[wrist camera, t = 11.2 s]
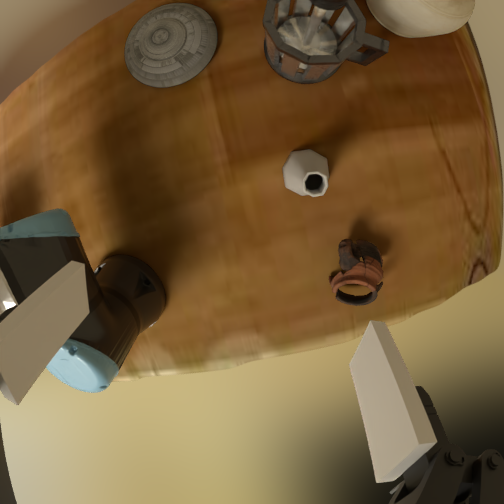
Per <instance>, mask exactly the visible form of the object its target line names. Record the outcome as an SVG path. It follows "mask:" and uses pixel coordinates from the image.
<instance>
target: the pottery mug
mask: <svg viewBox="0 0 504 504" xmlns="http://www.w3.org/2000/svg"><path fill="white" fill-rule="evenodd" d="M338 251H339V256H340V262H339V264H340V266H341V268H342V269H343V270H347V271H346V273H344V274H343V272H342V271H340V272H339V273H338V274H337V275H336V276H335V277H334V278H333V277H332V276H329V283H330V285H331V287H332V288H333V289H332V292H333V293H336V299H337V300H339V301H340V302H342V303H345V304H349V305H356V306H357V305H366V304H369V303H371V302H373V301H374V300H375V299H376V298H377V292H378V291H379V290H380V289H381V287H382V285H383V282H381V283H380V284H379V285H377V284H378V283H379V281H381V279H382V278H383V270H382V264H383V260H382V257H381V255H380V251H379V249H378V248H377V247H376V246H375V245H374V244H372V243H370V242H368V241H363V240H357V245H356V244H354V243H353V242H352V241H351V240H350V239H344V240H342V241H341V242H340V244H339V249H338ZM360 257H362V258H363V261H364V262H362V261H360V259H359V258H360ZM345 284H360V285H364V286H367V287H368V288H369V289H370V290H371V291H372V292H370V293H369V294H367V295H364V296H354V295H350V294H346V293H343V292H342V291H340V290H339V289H338V288H339V287H341V286H343V285H345Z"/></svg>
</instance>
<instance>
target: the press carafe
mask: <svg viewBox="0 0 504 504" xmlns="http://www.w3.org/2000/svg"><path fill="white" fill-rule="evenodd" d="M311 5H312V3H311V2H310V1H309V0H295V3H294V8H293V14H292V15H290V16H288V13H289V7H290V0H268V1H267V5H266V9H265V14H264V18H263V27H264V28H265V35H266V37H265V40H264V51H265V56H266V59H267V61H268V63H269V65H270V66H271V67H272V69H273V70H274V71H275V72H276V73H278V74H279V75H280V76H282V77H283V78H285V79H287V80H289V81H292V82H295V83H301V84H313V83H318V82H321V81H323V80H326V79H327V78H329V77H330V76H331V75H333V74H334V73H335V72H336V71H337V69H338V68H339V66H340V65H341V63H342V62H343V61H345V60H348V61H351V62H355V63H358V64H361V65H364V66H366V65H368V64H370V63H371V62H373V61H375V60H376V59H378V58H379V57H381V56H383V55H384V54H386V53H388V48H389V41H387V40H384V39H382V38H379V37H376V36H373V35H370V34H368V33H365V26H366V19H365V17H364V16H363V14H362V12H361V11H360V9H359V7H358V6H357V4H356V3H355V1H354V0H347V2H346V4H345V6H346V7H345V8H344V10H343V11H342V13H341V14H340V16H339V18H338V19H337V21H336V22H335V24H334V25H333V27H331V26H330V25H329V24H328V22H329V20H330V18H331V16H332V15H333V13H334V11H335V10H326V13H325V15H324V17H323V19H322V22H323V23H325V24H326V25H327V26H328V27H329V28H330V29H331V30H332V32H333V33H334V35H335V38H336V41H337V50H336V53H335V55H307V54H306V53H304V52H302V51H300V50H298V49H296V48H294V47H292V46H290V45H288V44H286V43H284V42H283V40H282V38H281V36H280V35H279V33H278V29H279V28H280V26H281V25H282V24H283V23H284V22H286V21H287V20H289V19H292V18H295V17H311V16H310V15H308V14H309V11H310V8H311ZM355 23H356V24H355ZM354 25H355V28H354V29H353V30H352V31H351V32H350V34H349V35H348V36H347V37H346V38H345V39H344V40H343V42H341V40H342V39H343V38H344V37H345V35H346V34H347V33H348V32H349V31H350V29H351V28H352V27H353V26H354ZM362 46H363V47H366V48H368V49H367V50H366V51H365V52H363V53H361V52H358V51H357V50H358V49H359V48H361V47H362ZM280 52H281V53H283V54H284V55H283V59H282V58H281V56H280ZM300 63H303V64H305V65H306V64H307V65H308V66H307V68H306V70H303V69H299V66H300Z"/></svg>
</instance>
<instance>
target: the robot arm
mask: <svg viewBox="0 0 504 504" xmlns="http://www.w3.org/2000/svg"><path fill="white" fill-rule="evenodd" d="M79 237H80V235H79V233H77V231H76V229H75V227H74V224H73V222H72V220H71V217H70V215H69V214H68V212H67V211H65V210H63V209H53V210H49V211H45V212H42V213H39V214H36V215H32V216H29V217H27V218H24V219H21V220H18V221H16V222H14V223H11V224H9V225H6V226H3V227H1V228H0V390H1V391H2V393H3V395H4V397H5V398H7V399H8V400H10V401H11V402H13V403H15V404H16V405H19V403H20V402H21V401H22V399H23V398H24V396H25V395H26V393H27V392H28V390H29V389H30V388H31V386H32V385H33V384H34V382H35V381H36V380H37V378H38V377H39V375H40V374H41V373H42V372H43V370H44V369H45V368H47V369H48V370H49V371H50V372H51V373H52V374H53V375H54V376H55V377H57V378H58V379H59V380H60V381H62V382H64V383H65V384H67V385H69V386H71V387H73V388H75V389H77V390H80V391H84V392H91V393H95V392H101V391H103V390H105V389H106V388H107V387H108V386H109V385H110V383H111V382H112V380H113V379H114V377H115V376H117V375H118V372H119V370H120V368H121V366H122V364H123V362H124V360H125V358H126V356H127V355H128V353H129V351H130V349H131V347H132V345H133V343H134V342H135V340H136V338H137V336H138V335H139V334H140V333H141V332H143V331H144V330H146V329H147V328H148V327H150V326H152V325H153V324H154V323H155V322H156V321H157V320H158V319H159V317H160V315H161V314H162V312H163V310H164V307H165V301H166V298H165V291H164V288H163V285H162V283H161V281H160V279H159V277H158V276H157V275H156V273H155V272H154V271H153V270H152V269H151V268H150V267H149V266H148V265H147V264H145V263H144V262H142V261H141V260H139V259H137V258H134V257H131V256H127V255H115V256H111V257H109V258H107V259H106V260H104V261H103V262H102V263H101V264H100V265H99V266H98V267H97V268H96V269H95V271H94V272H93V270H92V268H91V265H90V263H89V260H88V258H87V256H86V253H85V251H84V248H83V246H82V243H81V240H80V238H79ZM349 366H350V370H351V374H352V378H353V381H354V385H355V389H356V393H357V397H358V401H359V405H360V409H361V413H362V417H363V422H364V426H365V430H366V435H367V439H368V444H369V448H370V453H371V458H372V463H373V467H374V472H375V477H376V482H377V483H380V482H388V481H394V480H395V479H397V478H398V477H399V476H400V475H401V474H403V476H404V481H403V482H401V483H400V484H399V485H397V486H396V487H395V488H393V489H392V490H391V491H390V493H391V494H392V493H393V492H395V491H396V490H397V491H396V492H395V494H394V496H393V497H392V499H391V501H390V503H389V504H504V460H503V458H502V456H501V454H499V452H498V451H496V450H494V449H488V450H486V451H485V452H484V453H482V454H481V455H480V456H479V457H476V456H468V455H465V453H464V451H463V450H462V449H461V448H460V447H459V446H457V445H454V444H450V443H449V441H448V439H447V436H446V434H445V431H444V429H443V426H442V424H441V422H440V420H439V417H438V415H437V412H436V410H435V407H433V403H432V401H431V398H430V396H429V395H428V393H427V392H426V391H425V390H424V389H423V388H422V387H421V386H415V385H414V383H413V381H412V378H411V376H410V374H409V372H408V370H407V367H406V365H405V363H404V361H403V359H402V357H401V355H400V352H399V350H398V348H397V346H396V344H395V342H394V340H393V338H392V336H391V334H390V332H389V330H388V328H387V326H386V324H385V322H379V321H372V320H370V322H369V324H368V327H367V329H366V331H365V333H364V335H363V337H362V340H361V342H360V344H359V346H358V348H357V350H356V352H355V354H354V356H353V358H352V360H351V362H350V364H349ZM469 497H471V503H469ZM0 504H17V503H16V500H15V496H14V492H13V488H12V484H11V481H10V476H9V472H8V467H7V462H6V457H5V452H4V446H3V440H2V433H1V425H0Z"/></svg>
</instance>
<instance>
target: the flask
mask: <svg viewBox="0 0 504 504" xmlns="http://www.w3.org/2000/svg"><path fill="white" fill-rule="evenodd" d="M282 170H283V176H284V182H285V187H286V188H288V189H290V190H292V191H294V192H296V193H298V194H299V195H301V196H304V195H311V196H312V197H315V196H322V195H324V193H325V191H326V190H327V188H328V179H329V170H328V162H327V158H325V157H323V156H321V155H320V154H318V153H316V152H314V151H313V150H311V149H309V150H301V151H294V152H291V153H290V155H289V157H288V159H287V161H286V163H285V164H284V166H283V168H282Z"/></svg>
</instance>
